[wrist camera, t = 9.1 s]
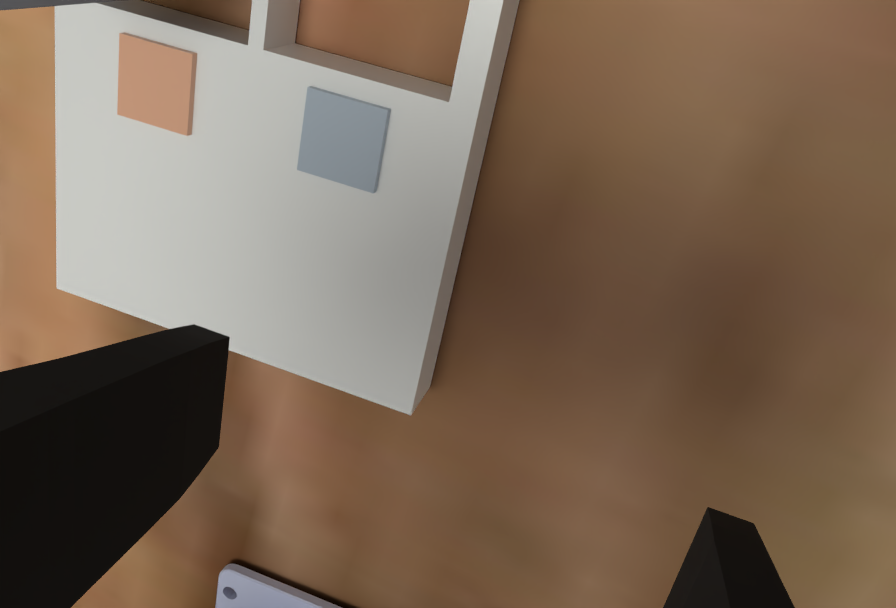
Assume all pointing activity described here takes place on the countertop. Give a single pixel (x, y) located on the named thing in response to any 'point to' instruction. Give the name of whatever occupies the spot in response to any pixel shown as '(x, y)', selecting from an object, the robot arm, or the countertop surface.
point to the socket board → (270, 185)
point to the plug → (43, 3)
